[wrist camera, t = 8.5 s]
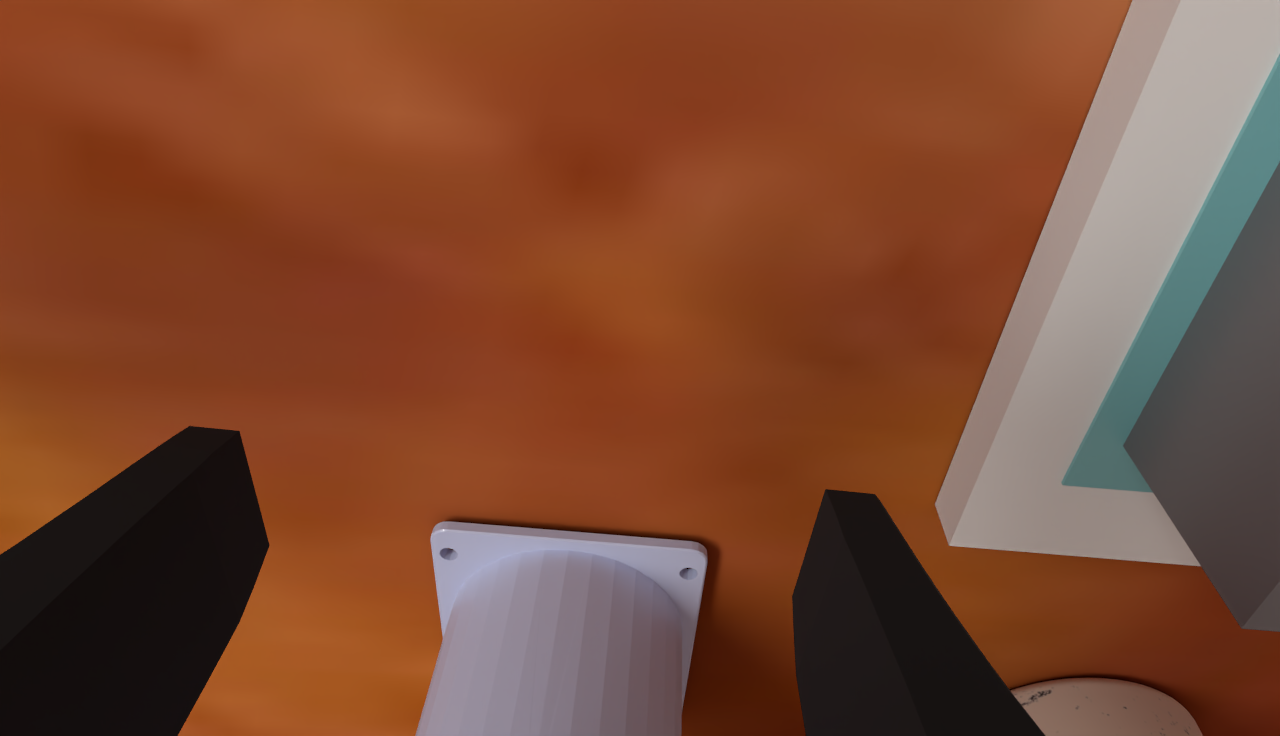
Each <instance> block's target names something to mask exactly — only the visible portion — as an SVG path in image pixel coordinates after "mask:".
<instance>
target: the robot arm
mask: <svg viewBox="0 0 1280 736" xmlns="http://www.w3.org/2000/svg"><path fill="white" fill-rule="evenodd" d="M268 548H269V542H268V538H267V534H266V531H265V527H264V523H263V519H262V515H261V512H260V508H259V504H258V500H257V496H256V493H255V489H254V485H253V481H252V477H251V474H250V470H249V466H248V462H247V458H246V455H245V451H244V447H243V443H242V439H241V436H240V432H239V431H234V430H224V429H214V428H204V427H193V426H189V427H187V428H186V429H184V430H183V431H181V432H180V433H178V434H176V435H175V436H173V437H172V438H170V439H169V440H167V441H166V442H164V443H163V444H161V445H160V446H158V447H157V448H156V449H154V450H153V451H151V452H150V453H148V454H147V455H145V456H144V457H142V458H141V459H140V460H138V461H137V462H135V463H134V464H132V465H131V466H130V467H128V468H127V469H125V470H124V471H122V472H121V473H120V474H118V475H117V476H115V477H114V478H112V479H111V480H110V481H108V482H107V483H105V484H104V485H102V486H101V487H99V488H98V489H97V490H95V491H94V492H92V493H91V494H89V495H88V496H87V497H85V498H84V499H82V500H81V501H79V502H78V503H76V504H75V505H73V506H72V507H70V508H69V509H67V510H66V511H65V512H63V513H62V514H60V515H59V516H57V517H56V518H54V519H53V520H51V521H50V522H48V523H47V524H45V525H44V526H43V527H41V528H40V529H38V530H37V531H35V532H34V533H32V534H31V535H29V536H28V537H26V538H25V539H23V540H22V541H21V542H19V543H18V544H16V545H15V546H13V547H12V548H10V549H9V550H7V551H5V552H4V553H2V554H1V555H0V736H178V734H179V732H180V730H181V728H182V727H183V725H184V723H185V721H186V719H187V718H188V716H189V714H190V712H191V710H192V708H193V707H194V705H195V703H196V701H197V699H198V698H199V696H200V694H201V692H202V690H203V689H204V687H205V685H206V683H207V681H208V679H209V678H210V676H211V674H212V672H213V670H214V668H215V667H216V665H217V663H218V661H219V659H220V657H221V655H222V654H223V652H224V650H225V648H226V646H227V644H228V643H229V641H230V639H231V637H232V635H233V633H234V631H235V629H236V627H237V625H238V624H239V622H240V619H241V617H242V615H243V612H244V610H245V607H246V605H247V602H248V600H249V597H250V595H251V593H252V590H253V588H254V585H255V582H256V580H257V577H258V574H259V572H260V569H261V566H262V564H263V561H264V558H265V556H266V553H267V550H268ZM431 548H432V556H433V564H434V571H435V579H436V587H437V595H438V603H439V611H440V619H441V627H442V635H443V641H442V645H441V648H440V652H439V655H438V659H437V662H436V666H435V669H434V673H433V676H432V680H431V683H430V687H429V690H428V694H427V697H426V701H425V704H424V708H423V711H422V715H421V718H420V722H419V725H418V729H417V732H416V736H681V734H682V709H683V703H684V697H685V691H686V686H687V680H688V674H689V668H690V662H691V656H692V650H693V645H694V639H695V633H696V627H697V621H698V615H699V609H700V604H701V598H702V592H703V586H704V580H705V574H706V568H707V550H706V548H705V547H704V546H703V545H701V544H700V543H698V542H693V541H684V540H671V539H659V538H647V537H635V536H622V535H610V534H598V533H586V532H573V531H561V530H549V529H537V528H525V527H512V526H500V525H488V524H476V523H463V522H451V521H447V522H441V523H438V524H437V525H436V526H435V527H434V529H433V532H432V535H431ZM448 548H450V549H448ZM451 549H453V550H451ZM685 568H692V569H685ZM792 601H793V625H794V646H795V663H796V677H797V683H798V689H799V696H800V702H801V708H802V714H803V720H804V726H805V733H806V736H1045V734H1044V733H1043V732H1042V731H1041V729H1040V728H1039V727H1038V726H1037V724H1036V723H1035V722H1034V720H1033V719H1032V718H1031V717H1030V715H1029V714H1028V713H1027V712H1026V710H1025V709H1024V708H1023V706H1022V705H1021V704H1020V703H1019V701H1018V700H1017V699H1016V698H1015V696H1014V695H1013V694H1012V692H1011V691H1010V690H1009V689H1008V687H1007V686H1006V685H1005V683H1004V682H1003V681H1002V679H1001V678H1000V677H999V675H998V674H997V673H996V671H995V670H994V669H993V667H992V666H991V665H990V663H989V662H988V661H987V659H986V658H985V656H984V655H983V654H982V652H981V651H980V649H979V648H978V647H977V645H976V644H975V642H974V641H973V639H972V638H971V637H970V635H969V634H968V632H967V631H966V630H965V628H964V627H963V625H962V624H961V623H960V621H959V620H958V618H957V617H956V616H955V614H954V613H953V611H952V610H951V608H950V607H949V606H948V604H947V603H946V601H945V600H944V598H943V597H942V595H941V594H940V592H939V591H938V589H937V588H936V586H935V585H934V583H933V582H932V580H931V579H930V577H929V576H928V574H927V573H926V571H925V570H924V568H923V567H922V565H921V564H920V562H919V561H918V559H917V558H916V556H915V555H914V553H913V551H912V550H911V548H910V547H909V545H908V544H907V542H906V541H905V539H904V537H903V536H902V534H901V533H900V531H899V530H898V528H897V526H896V525H895V523H894V522H893V520H892V519H891V517H890V515H889V514H888V512H887V511H886V509H885V508H884V506H883V504H882V503H881V502H880V500H879V499H878V498H877V496H876V495H875V494H867V493H857V492H847V491H837V490H827V489H826V490H825V493H824V496H823V499H822V502H821V506H820V509H819V512H818V515H817V519H816V522H815V525H814V528H813V531H812V535H811V538H810V541H809V544H808V548H807V551H806V554H805V557H804V560H803V564H802V567H801V570H800V573H799V577H798V580H797V583H796V586H795V589H794V593H793V596H792Z"/></svg>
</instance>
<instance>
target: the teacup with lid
mask: <svg viewBox="0 0 1280 736" xmlns="http://www.w3.org/2000/svg"><path fill="white" fill-rule="evenodd" d="M1010 691H1011V692H1012V694H1013V695H1014V696H1015V698H1016V699H1017V700H1018V701H1019V703H1020V704H1021V705H1022V706H1023V708H1024V709H1025V710H1026V712H1027V713H1028V714H1029V715H1030V717H1031V718H1032V719H1033V720H1034V722H1035V723H1036V724H1037V726H1038V727H1039V728H1040V729H1041V731H1042V732H1043V733H1044V734H1045V736H1203V735H1202V733H1201V731H1200V729H1199V727H1198V725H1197V723H1196V722H1195V720H1194V719H1193V717H1192V716H1191V714H1190V713H1189V712H1188V711H1187V710H1186V709H1185V708H1184V707H1183V706H1182V705H1181V704H1180V703H1179V702H1177V701H1176V700H1174V699H1173V698H1172V697H1170V696H1168V695H1166V694H1164V693H1162V692H1160V691H1158V690H1156V689H1153V688H1151V687H1148V686H1145V685H1142V684H1138V683H1134V682H1129V681H1123V680H1117V679H1107V678H1068V679H1059V680H1051V681H1045V682H1040V683H1035V684H1031V685H1027V686H1023V687H1020V688H1016V689H1013V690H1010Z"/></svg>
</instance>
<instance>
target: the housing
mask: <svg viewBox="0 0 1280 736" xmlns="http://www.w3.org/2000/svg"><path fill="white" fill-rule="evenodd" d="M1123 447H1124V448H1125V450H1126V452H1127V453H1128V455H1129V456H1130V458H1131V459H1132V461H1133V462H1134V464H1135V465H1136V467H1137V468H1138V470H1139V472H1140V473H1141V475H1142V476H1143V478H1144V479H1145V481H1146V482H1147V484H1148V485H1149V487H1150V488H1151V490H1152V492H1153V493H1154V495H1155V496H1156V498H1157V499H1158V501H1159V502H1160V504H1161V505H1162V507H1163V508H1164V510H1165V512H1166V513H1167V515H1168V516H1169V518H1170V519H1171V521H1172V522H1173V524H1174V525H1175V527H1176V528H1177V530H1178V532H1179V533H1180V535H1181V536H1182V538H1183V539H1184V541H1185V542H1186V544H1187V545H1188V547H1189V548H1190V550H1191V552H1192V553H1193V555H1194V556H1195V558H1196V559H1197V561H1198V562H1199V564H1200V565H1201V567H1202V568H1203V570H1204V572H1205V573H1206V575H1207V576H1208V578H1209V579H1210V581H1211V582H1212V584H1213V585H1214V587H1215V588H1216V590H1217V592H1218V593H1219V595H1220V596H1221V598H1222V599H1223V601H1224V602H1225V604H1226V605H1227V607H1228V608H1229V610H1230V612H1231V613H1232V615H1233V616H1234V618H1235V619H1236V621H1237V622H1238V624H1239V625H1240V627H1241V628H1242V629H1253V630H1266V631H1278V632H1280V162H1279V164H1278V165H1277V167H1276V169H1275V171H1274V173H1273V174H1272V176H1271V178H1270V180H1269V182H1268V184H1267V185H1266V187H1265V189H1264V191H1263V193H1262V194H1261V196H1260V198H1259V200H1258V202H1257V203H1256V205H1255V207H1254V209H1253V211H1252V213H1251V214H1250V216H1249V218H1248V220H1247V222H1246V223H1245V225H1244V227H1243V229H1242V231H1241V232H1240V234H1239V236H1238V238H1237V240H1236V242H1235V243H1234V245H1233V247H1232V249H1231V251H1230V252H1229V254H1228V256H1227V258H1226V260H1225V261H1224V263H1223V265H1222V267H1221V269H1220V271H1219V272H1218V274H1217V276H1216V278H1215V280H1214V281H1213V283H1212V285H1211V287H1210V289H1209V290H1208V292H1207V294H1206V296H1205V298H1204V300H1203V301H1202V303H1201V305H1200V307H1199V309H1198V310H1197V312H1196V314H1195V316H1194V318H1193V320H1192V321H1191V323H1190V325H1189V327H1188V329H1187V330H1186V332H1185V334H1184V336H1183V338H1182V339H1181V341H1180V343H1179V345H1178V347H1177V349H1176V350H1175V352H1174V354H1173V356H1172V358H1171V359H1170V361H1169V363H1168V365H1167V367H1166V368H1165V370H1164V372H1163V374H1162V376H1161V378H1160V379H1159V381H1158V383H1157V385H1156V387H1155V388H1154V390H1153V392H1152V394H1151V396H1150V397H1149V399H1148V401H1147V403H1146V405H1145V407H1144V408H1143V410H1142V412H1141V414H1140V416H1139V417H1138V419H1137V421H1136V423H1135V425H1134V426H1133V428H1132V430H1131V432H1130V434H1129V436H1128V437H1127V439H1126V441H1125V443H1124V445H1123Z"/></svg>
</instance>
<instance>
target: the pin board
mask: <svg viewBox="0 0 1280 736" xmlns="http://www.w3.org/2000/svg"><path fill="white" fill-rule="evenodd" d="M1279 162H1280V0H1133V1H1132V3H1131V6H1130V8H1129V11H1128V13H1127V16H1126V18H1125V21H1124V24H1123V26H1122V29H1121V31H1120V34H1119V36H1118V39H1117V41H1116V44H1115V46H1114V49H1113V52H1112V54H1111V57H1110V59H1109V62H1108V64H1107V67H1106V69H1105V72H1104V75H1103V77H1102V80H1101V82H1100V85H1099V87H1098V90H1097V92H1096V95H1095V97H1094V100H1093V103H1092V105H1091V108H1090V110H1089V113H1088V115H1087V118H1086V120H1085V123H1084V125H1083V128H1082V131H1081V133H1080V136H1079V138H1078V141H1077V143H1076V146H1075V148H1074V151H1073V154H1072V156H1071V159H1070V161H1069V164H1068V166H1067V169H1066V171H1065V174H1064V176H1063V179H1062V182H1061V184H1060V187H1059V189H1058V192H1057V194H1056V197H1055V199H1054V202H1053V204H1052V207H1051V210H1050V212H1049V215H1048V217H1047V220H1046V222H1045V225H1044V227H1043V230H1042V233H1041V235H1040V238H1039V240H1038V243H1037V245H1036V248H1035V250H1034V253H1033V255H1032V258H1031V261H1030V263H1029V266H1028V268H1027V271H1026V273H1025V276H1024V278H1023V281H1022V283H1021V286H1020V289H1019V291H1018V294H1017V296H1016V299H1015V301H1014V304H1013V306H1012V309H1011V312H1010V314H1009V317H1008V319H1007V322H1006V324H1005V327H1004V329H1003V332H1002V334H1001V337H1000V340H999V342H998V345H997V347H996V350H995V352H994V355H993V357H992V360H991V362H990V365H989V368H988V370H987V373H986V375H985V378H984V380H983V383H982V385H981V388H980V390H979V393H978V396H977V398H976V401H975V403H974V406H973V408H972V411H971V413H970V416H969V419H968V421H967V424H966V426H965V429H964V431H963V434H962V436H961V439H960V441H959V444H958V447H957V449H956V452H955V454H954V457H953V459H952V462H951V464H950V467H949V469H948V472H947V475H946V477H945V480H944V482H943V485H942V487H941V490H940V492H939V495H938V498H937V500H936V503H935V506H936V509H937V512H938V515H939V518H940V521H941V524H942V527H943V529H944V532H945V535H946V538H947V541H948V544H949V546H959V547H971V548H983V549H995V550H1008V551H1020V552H1032V553H1044V554H1057V555H1069V556H1081V557H1093V558H1106V559H1118V560H1130V561H1142V562H1155V563H1167V564H1179V565H1191V566H1201V565H1200V564H1199V562H1198V561H1197V559H1196V558H1195V556H1194V555H1193V553H1192V552H1191V550H1190V548H1189V547H1188V545H1187V544H1186V542H1185V541H1184V539H1183V538H1182V536H1181V535H1180V533H1179V532H1178V530H1177V528H1176V527H1175V525H1174V524H1173V522H1172V521H1171V519H1170V518H1169V516H1168V515H1167V513H1166V512H1165V510H1164V508H1163V507H1162V505H1161V504H1160V502H1159V501H1158V499H1157V498H1156V496H1155V495H1154V493H1153V492H1152V490H1151V488H1150V487H1149V485H1148V484H1147V482H1146V481H1145V479H1144V478H1143V476H1142V475H1141V473H1140V472H1139V470H1138V468H1137V467H1136V465H1135V464H1134V462H1133V461H1132V459H1131V458H1130V456H1129V455H1128V453H1127V452H1126V450H1125V448H1124V447H1123V445H1124V443H1125V441H1126V439H1127V437H1128V436H1129V434H1130V432H1131V430H1132V428H1133V426H1134V425H1135V423H1136V421H1137V419H1138V417H1139V416H1140V414H1141V412H1142V410H1143V408H1144V407H1145V405H1146V403H1147V401H1148V399H1149V397H1150V396H1151V394H1152V392H1153V390H1154V388H1155V387H1156V385H1157V383H1158V381H1159V379H1160V378H1161V376H1162V374H1163V372H1164V370H1165V368H1166V367H1167V365H1168V363H1169V361H1170V359H1171V358H1172V356H1173V354H1174V352H1175V350H1176V349H1177V347H1178V345H1179V343H1180V341H1181V339H1182V338H1183V336H1184V334H1185V332H1186V330H1187V329H1188V327H1189V325H1190V323H1191V321H1192V320H1193V318H1194V316H1195V314H1196V312H1197V310H1198V309H1199V307H1200V305H1201V303H1202V301H1203V300H1204V298H1205V296H1206V294H1207V292H1208V290H1209V289H1210V287H1211V285H1212V283H1213V281H1214V280H1215V278H1216V276H1217V274H1218V272H1219V271H1220V269H1221V267H1222V265H1223V263H1224V261H1225V260H1226V258H1227V256H1228V254H1229V252H1230V251H1231V249H1232V247H1233V245H1234V243H1235V242H1236V240H1237V238H1238V236H1239V234H1240V232H1241V231H1242V229H1243V227H1244V225H1245V223H1246V222H1247V220H1248V218H1249V216H1250V214H1251V213H1252V211H1253V209H1254V207H1255V205H1256V203H1257V202H1258V200H1259V198H1260V196H1261V194H1262V193H1263V191H1264V189H1265V187H1266V185H1267V184H1268V182H1269V180H1270V178H1271V176H1272V174H1273V173H1274V171H1275V169H1276V167H1277V165H1278V164H1279Z"/></svg>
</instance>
